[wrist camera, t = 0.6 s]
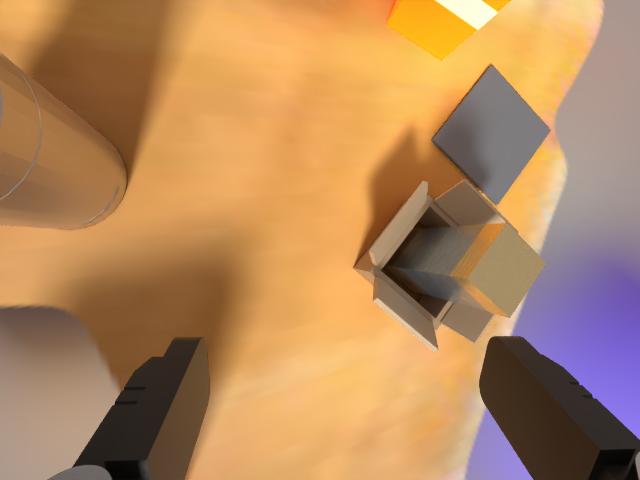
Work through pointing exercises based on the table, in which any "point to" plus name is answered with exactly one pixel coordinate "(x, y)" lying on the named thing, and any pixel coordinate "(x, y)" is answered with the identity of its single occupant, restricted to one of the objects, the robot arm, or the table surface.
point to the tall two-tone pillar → (468, 265)
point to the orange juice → (441, 21)
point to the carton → (429, 312)
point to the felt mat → (492, 135)
